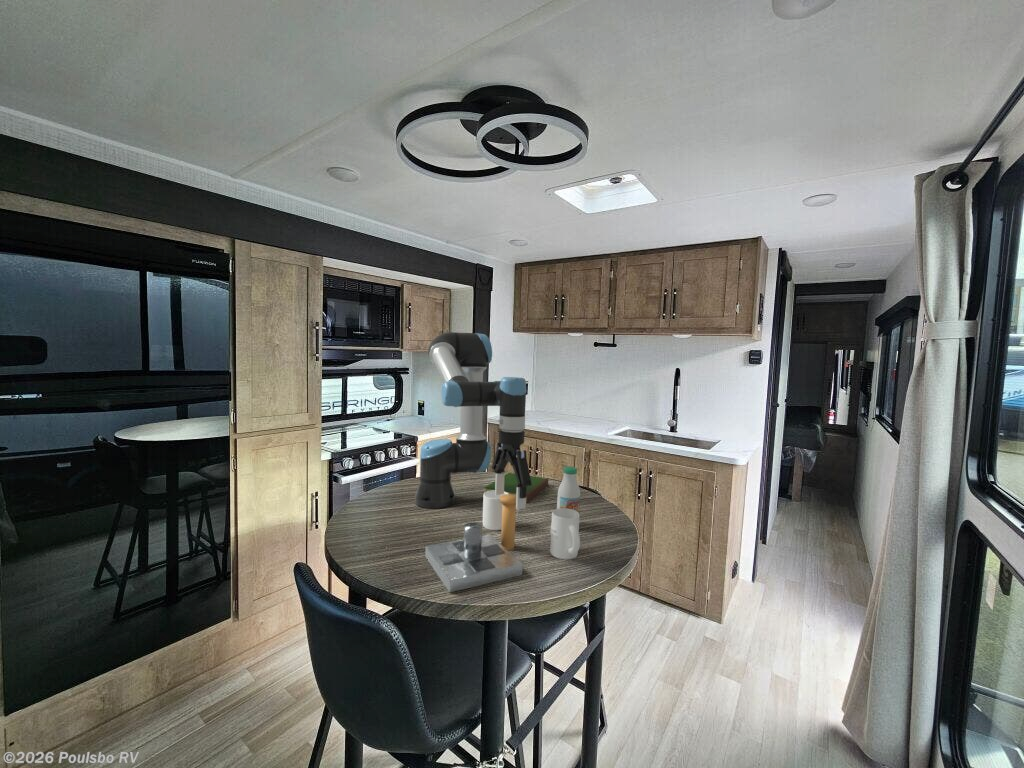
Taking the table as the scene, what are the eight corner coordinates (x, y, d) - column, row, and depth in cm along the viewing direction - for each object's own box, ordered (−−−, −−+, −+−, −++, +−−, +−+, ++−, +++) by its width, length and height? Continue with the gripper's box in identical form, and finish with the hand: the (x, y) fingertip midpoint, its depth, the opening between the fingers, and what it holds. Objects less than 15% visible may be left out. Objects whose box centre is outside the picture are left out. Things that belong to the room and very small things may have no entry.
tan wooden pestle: (495, 544, 131) (496, 495, 130) (511, 541, 134) (513, 493, 133) (503, 552, 126) (505, 501, 125) (520, 549, 129) (522, 499, 128)
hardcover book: (527, 504, 168) (527, 495, 167) (484, 496, 175) (484, 487, 175) (548, 486, 190) (548, 478, 190) (509, 480, 198) (509, 472, 198)
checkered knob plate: (425, 556, 122) (426, 518, 121) (489, 543, 132) (491, 508, 131) (449, 592, 105) (450, 548, 104) (521, 574, 114) (523, 534, 113)
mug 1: (519, 530, 142) (521, 498, 141) (483, 531, 141) (484, 498, 140) (516, 520, 151) (517, 490, 150) (481, 520, 149) (482, 490, 148)
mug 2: (563, 568, 119) (565, 525, 118) (545, 548, 130) (546, 509, 129) (589, 563, 121) (591, 522, 120) (569, 545, 133) (571, 507, 132)
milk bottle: (551, 525, 147) (554, 467, 146) (565, 519, 153) (567, 463, 151) (570, 532, 142) (573, 472, 140) (583, 525, 148) (586, 468, 146)
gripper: (482, 424, 136) (480, 490, 138) (521, 438, 114) (518, 517, 116) (504, 422, 140) (502, 487, 141) (545, 436, 118) (542, 513, 119)
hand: (509, 501), depth 129 cm, fingers open, 13 cm apart
